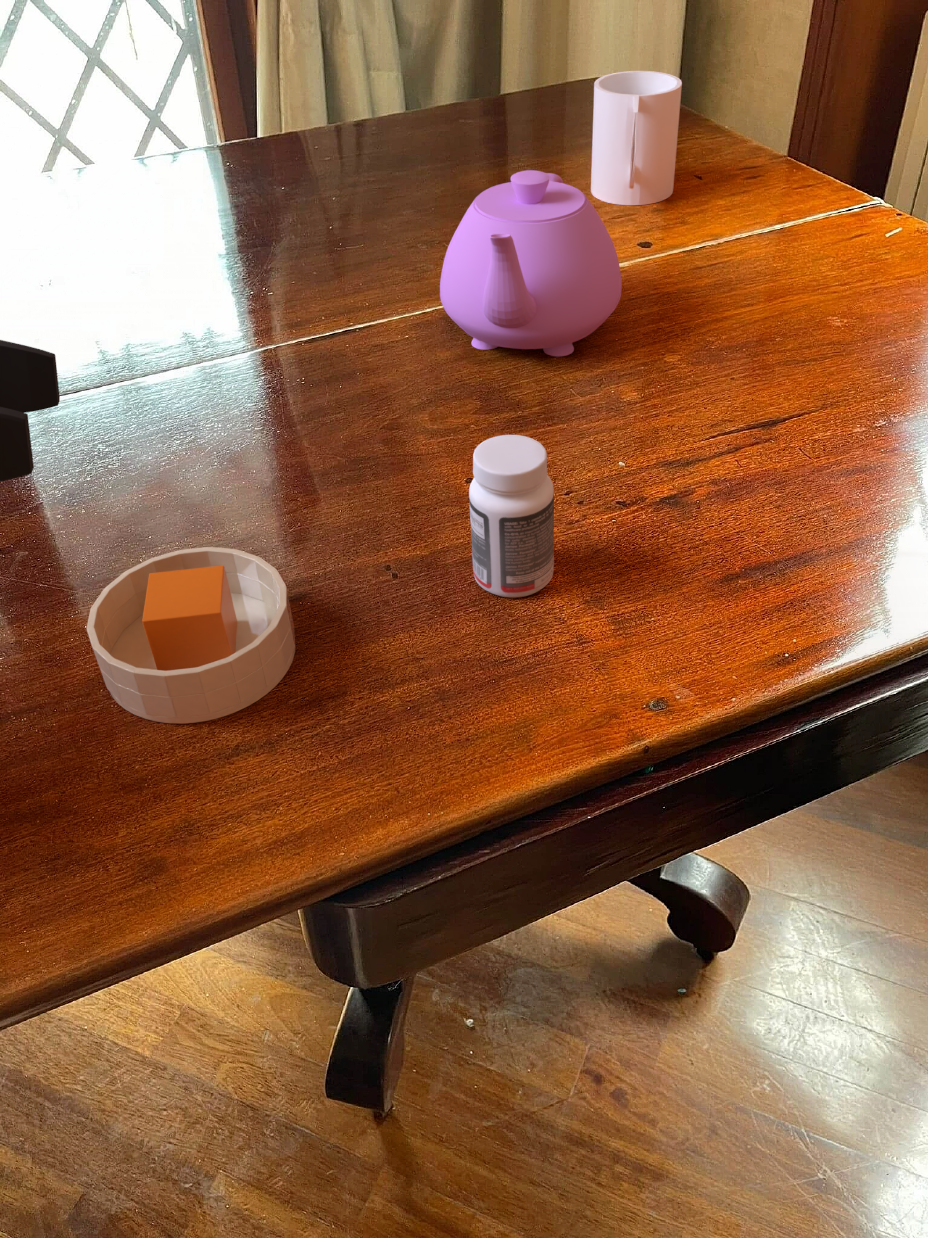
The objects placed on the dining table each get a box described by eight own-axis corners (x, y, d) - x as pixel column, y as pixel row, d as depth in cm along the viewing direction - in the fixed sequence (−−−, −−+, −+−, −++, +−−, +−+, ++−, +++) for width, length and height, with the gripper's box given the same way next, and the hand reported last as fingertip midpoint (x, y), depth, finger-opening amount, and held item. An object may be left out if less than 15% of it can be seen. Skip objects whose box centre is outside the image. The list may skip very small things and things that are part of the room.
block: (159, 678, 58) (141, 621, 56) (165, 628, 61) (148, 572, 59) (234, 669, 58) (220, 612, 56) (237, 620, 61) (223, 564, 59)
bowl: (92, 735, 56) (74, 686, 54) (116, 605, 64) (100, 557, 61) (296, 711, 57) (286, 661, 54) (295, 585, 64) (286, 537, 62)
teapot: (592, 405, 78) (599, 239, 70) (405, 386, 82) (391, 225, 74) (635, 287, 93) (645, 138, 85) (474, 275, 96) (469, 130, 88)
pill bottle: (565, 560, 65) (568, 439, 60) (535, 608, 62) (535, 485, 56) (492, 542, 67) (488, 423, 61) (459, 588, 64) (452, 466, 58)
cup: (586, 219, 105) (589, 108, 98) (593, 175, 114) (596, 70, 107) (673, 220, 104) (682, 108, 97) (673, 175, 112) (681, 70, 106)
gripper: (-512, 348, 31) (-2, 359, 34) (-304, 248, 43) (57, 262, 46) (-434, 571, 34) (24, 564, 37) (-262, 419, 47) (72, 422, 50)
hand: (44, 409), depth 42 cm, fingers open, 7 cm apart
